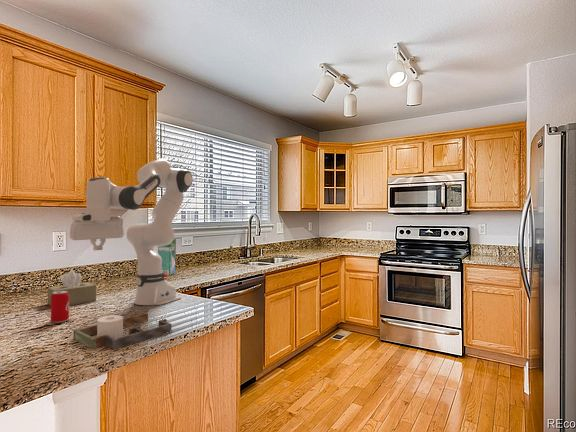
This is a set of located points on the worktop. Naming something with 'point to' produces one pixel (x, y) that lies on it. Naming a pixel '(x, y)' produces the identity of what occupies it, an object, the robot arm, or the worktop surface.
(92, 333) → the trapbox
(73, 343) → the worktop surface
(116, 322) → the toilet paper
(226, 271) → the worktop surface
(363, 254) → the worktop surface
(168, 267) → the milk carton
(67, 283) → the tissue box
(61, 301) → the beverage can
